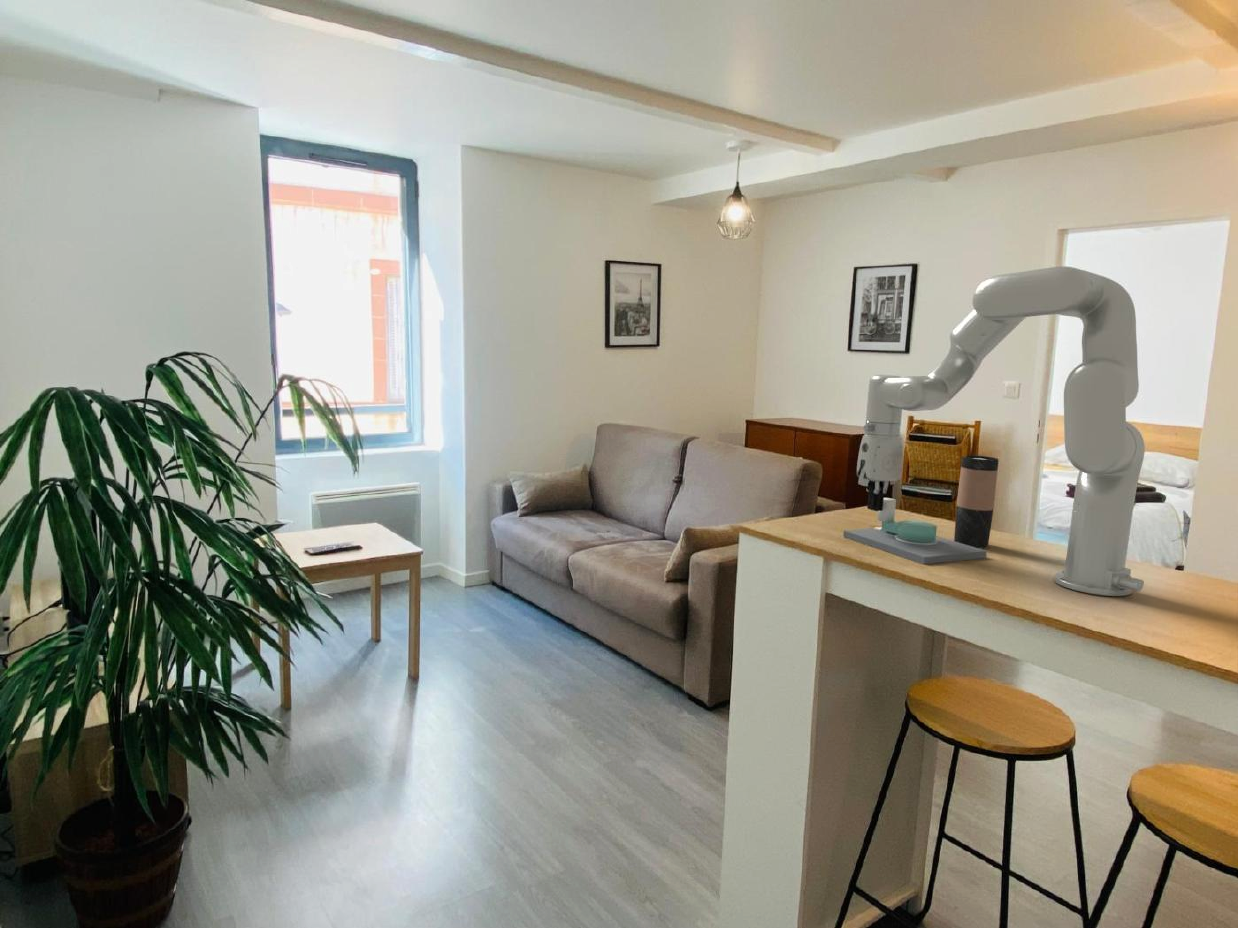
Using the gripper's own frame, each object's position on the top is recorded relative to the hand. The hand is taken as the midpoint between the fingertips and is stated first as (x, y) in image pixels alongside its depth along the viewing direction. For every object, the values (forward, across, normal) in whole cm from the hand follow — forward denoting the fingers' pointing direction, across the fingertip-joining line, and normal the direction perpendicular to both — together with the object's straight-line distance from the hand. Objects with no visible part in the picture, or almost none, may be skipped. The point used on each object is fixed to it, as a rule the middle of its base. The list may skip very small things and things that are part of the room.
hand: (874, 509), depth 178 cm
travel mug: (+7, +19, -12) cm, 23 cm away
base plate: (+7, +3, -9) cm, 12 cm away
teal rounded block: (+5, +4, -6) cm, 8 cm away
